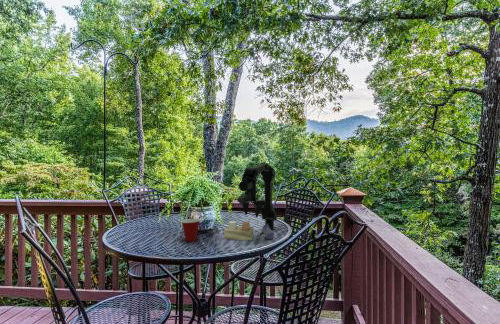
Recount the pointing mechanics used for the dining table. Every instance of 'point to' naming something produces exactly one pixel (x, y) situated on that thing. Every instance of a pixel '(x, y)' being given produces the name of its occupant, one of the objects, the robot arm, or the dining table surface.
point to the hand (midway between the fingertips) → (251, 215)
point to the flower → (266, 232)
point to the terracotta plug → (246, 226)
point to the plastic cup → (190, 229)
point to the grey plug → (232, 225)
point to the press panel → (239, 233)
